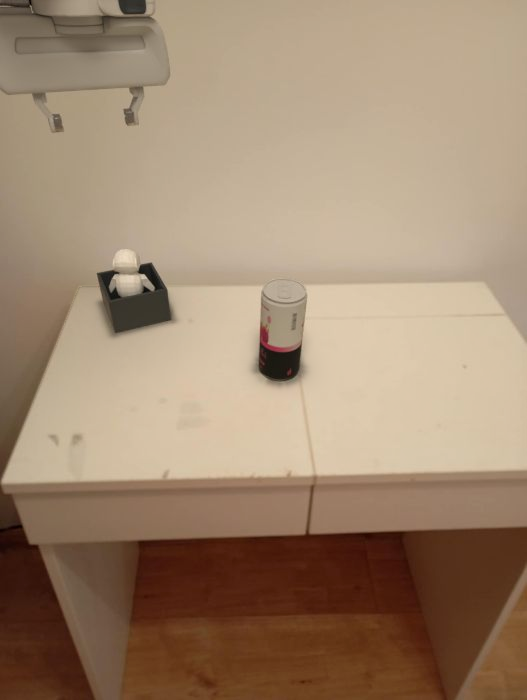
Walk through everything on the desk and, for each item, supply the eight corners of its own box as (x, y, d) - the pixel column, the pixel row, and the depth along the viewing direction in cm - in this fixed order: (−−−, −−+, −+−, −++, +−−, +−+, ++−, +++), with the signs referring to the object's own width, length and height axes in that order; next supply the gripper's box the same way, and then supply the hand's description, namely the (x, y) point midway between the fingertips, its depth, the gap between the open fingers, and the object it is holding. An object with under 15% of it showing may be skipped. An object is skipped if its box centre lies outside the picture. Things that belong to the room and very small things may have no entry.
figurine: (158, 302, 88) (150, 244, 80) (155, 317, 84) (146, 257, 77) (114, 302, 87) (102, 244, 80) (109, 317, 84) (96, 257, 76)
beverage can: (256, 380, 74) (259, 301, 64) (260, 353, 79) (263, 275, 69) (298, 383, 73) (307, 304, 64) (299, 356, 78) (307, 278, 69)
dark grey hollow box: (115, 333, 81) (108, 302, 77) (103, 302, 88) (96, 272, 84) (171, 319, 85) (167, 289, 81) (155, 291, 92) (151, 262, 87)
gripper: (-35, -5, 46) (10, 143, 55) (168, -3, 53) (178, 127, 62) (-35, -10, 50) (6, 128, 59) (153, -8, 58) (164, 115, 66)
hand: (95, 127), depth 61 cm, fingers open, 8 cm apart
